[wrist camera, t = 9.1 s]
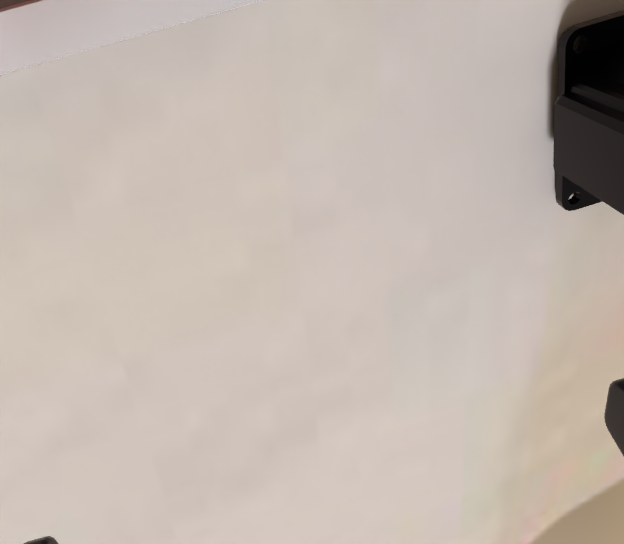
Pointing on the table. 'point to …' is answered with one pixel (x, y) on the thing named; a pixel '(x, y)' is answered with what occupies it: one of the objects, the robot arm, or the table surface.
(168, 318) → the table surface
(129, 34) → the grey storage bin
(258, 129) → the table surface
